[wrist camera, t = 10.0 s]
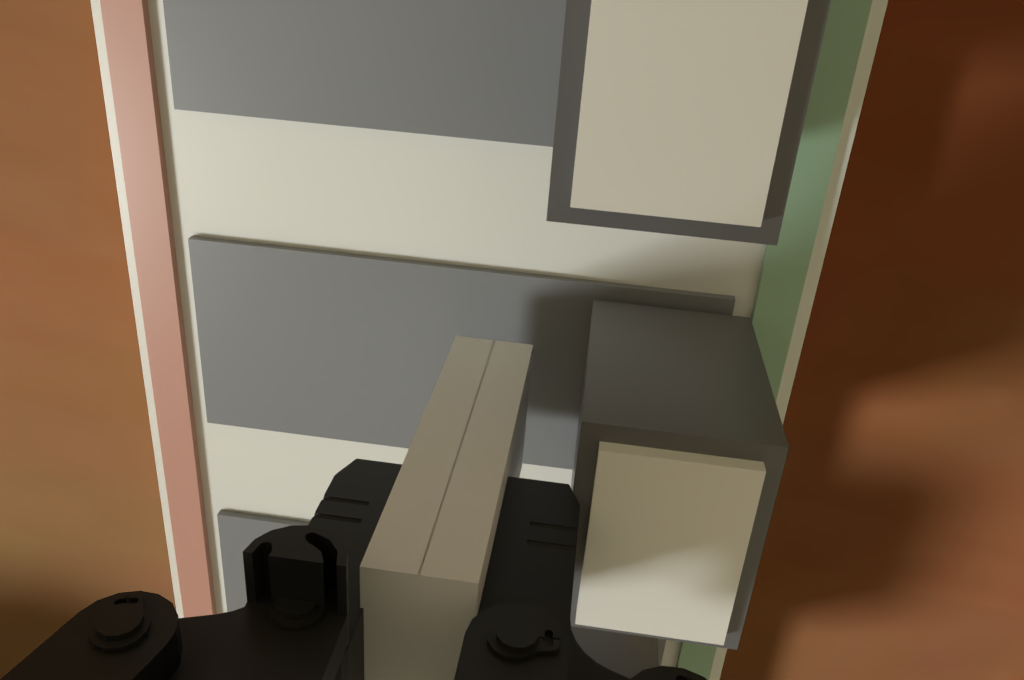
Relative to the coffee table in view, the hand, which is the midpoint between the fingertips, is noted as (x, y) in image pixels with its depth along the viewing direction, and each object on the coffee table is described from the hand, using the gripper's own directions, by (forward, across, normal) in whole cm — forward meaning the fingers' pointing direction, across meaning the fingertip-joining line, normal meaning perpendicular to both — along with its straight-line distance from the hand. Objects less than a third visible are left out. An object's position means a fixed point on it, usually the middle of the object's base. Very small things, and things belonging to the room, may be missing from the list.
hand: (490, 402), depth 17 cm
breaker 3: (+1, +3, +7) cm, 8 cm away
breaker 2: (+1, +3, 0) cm, 3 cm away
